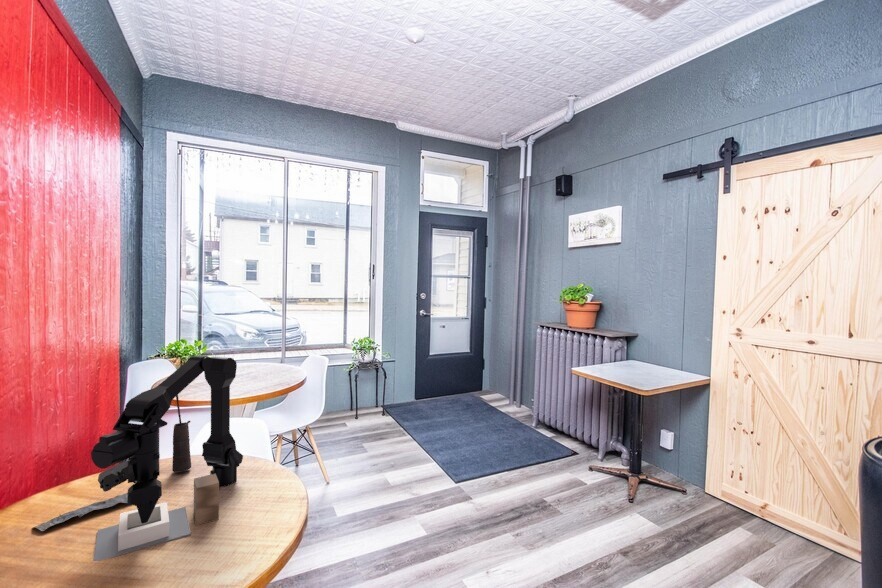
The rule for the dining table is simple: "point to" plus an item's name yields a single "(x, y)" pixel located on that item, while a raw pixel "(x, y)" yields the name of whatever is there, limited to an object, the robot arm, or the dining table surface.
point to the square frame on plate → (141, 531)
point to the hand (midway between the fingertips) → (144, 513)
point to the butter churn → (181, 445)
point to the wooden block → (206, 499)
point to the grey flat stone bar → (84, 511)
